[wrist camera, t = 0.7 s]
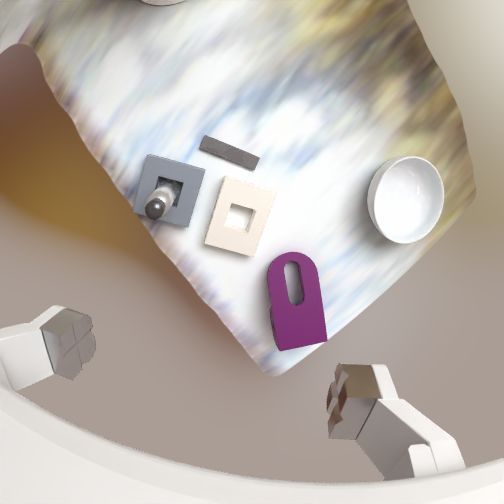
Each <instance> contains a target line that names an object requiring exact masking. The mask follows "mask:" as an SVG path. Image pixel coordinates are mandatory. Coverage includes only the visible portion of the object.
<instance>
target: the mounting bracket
mask: <svg viewBox="0 0 504 504" xmlns="http://www.w3.org/2000/svg"><path fill="white" fill-rule="evenodd" d="M289 261H293V262H295V263H296V264H297V266H298V269H299V275H300V281H301V288H302V294H303V298H302V301H301V302H300V303H299V304H296V305H292V304H291V303H290V302H289V299H288V293H287V287H286V281H285V275H284V266H285V264H286V263H287V262H289ZM267 282H268V288H269V294H270V300H271V307H272V308H270V318H271V325H272V331H273V336H274V340H275V343H276V346H277V347H278V349H279V351H284V350H289V349H294V348H299V347H303V346H308V345H313V344H317V343H321V342H326V341H327V333H326V326H325V318H324V311H323V304H322V297H321V290H320V284H319V278H318V272H317V268H316V266H315V264H314V263H313V261H312V260H311V259H310V258H309V257H307V256H306V255H304V254H302V253H298V252H289V253H285V254H282V255H280V256H279V257H277V258H276V259H275V260H274V261H273V262H272V263H271V265H270V267H269V269H268V273H267Z"/></svg>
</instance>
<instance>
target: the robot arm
mask: <svg viewBox="0 0 504 504" xmlns="http://www.w3.org/2000/svg"><path fill="white" fill-rule="evenodd" d="M141 1H143V2H145V3H148V4H152V5H171V4H175V3H179V2H182V1H185V0H141ZM92 327H93V325H92V320H91V317H89V316H88V315H86V314H83V313H80V312H77V311H74V310H71V309H68V308H65V307H62V306H59V305H53V306H52V307H51V308H49V309H48V310H47V311H45V312H44V313H42V314H41V315H40V316H38V317H37V318H36V319H35V320H33V321H32V322H30V323H29V324H27V323H23V324H19V325H15V326H10V327H6V328H2V329H0V504H504V458H500V459H497V460H494V461H491V462H488V463H484V464H480V465H477V466H473V467H468V468H466V467H465V464H464V461H463V458H462V456H461V453H460V451H459V448H458V446H457V443H456V441H455V439H454V438H453V437H451V436H450V435H449V434H447V433H446V432H445V431H444V430H442V429H441V428H440V427H438V426H437V425H436V424H434V423H433V422H432V421H430V420H429V419H428V418H427V417H425V416H424V415H423V414H421V413H420V412H419V411H418V410H416V409H415V408H414V407H412V406H411V405H410V404H409V403H407V402H406V401H405V400H403V399H399V398H398V395H397V393H396V390H395V387H394V384H393V382H392V379H391V377H390V374H389V371H388V369H387V367H386V366H385V365H373V364H370V365H361V364H348V363H339V364H338V365H337V367H336V370H335V381H334V382H332V383H331V385H330V388H329V391H328V396H327V412H328V413H329V414H330V415H331V416H330V419H329V421H328V431H329V438H332V439H349V440H356V442H357V443H358V445H359V446H360V447H361V448H362V450H363V451H364V452H365V454H366V455H367V456H368V457H369V458H370V460H371V461H372V462H373V463H374V465H375V466H376V467H377V468H378V470H379V471H380V472H381V473H382V474H383V476H384V477H385V479H384V480H383V481H377V482H357V483H317V482H298V481H285V480H274V479H264V478H257V477H250V476H243V475H237V474H231V473H225V472H219V471H215V470H210V469H206V468H201V467H197V466H192V465H188V464H184V463H180V462H177V461H173V460H169V459H166V458H162V457H159V456H156V455H152V454H149V453H146V452H143V451H140V450H137V449H134V448H132V447H129V446H126V445H123V444H120V443H118V442H115V441H113V440H110V439H107V438H105V437H102V436H100V435H98V434H95V433H93V432H91V431H88V430H86V429H84V428H82V427H80V426H77V425H75V424H73V423H71V422H69V421H67V420H65V419H63V418H61V417H59V416H57V415H55V414H53V413H51V412H49V411H47V410H46V409H44V408H42V407H40V406H38V405H37V404H35V403H33V402H31V401H30V400H28V399H26V398H24V397H23V396H21V395H19V394H18V393H16V391H18V390H20V389H22V388H24V387H27V386H29V385H31V384H33V383H35V382H37V381H40V380H42V379H44V378H46V377H48V376H51V375H53V374H54V373H56V374H58V375H61V376H63V377H65V378H68V379H71V380H73V379H74V378H75V377H76V376H77V374H78V373H79V372H80V371H81V370H82V364H84V363H87V362H89V361H90V360H91V358H92V357H93V355H94V352H95V350H96V341H95V337H94V335H93V334H92V332H91V329H92Z"/></svg>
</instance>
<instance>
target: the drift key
mask: <svg viewBox="0 0 504 504" xmlns="http://www.w3.org/2000/svg"><path fill="white" fill-rule="evenodd" d="M200 149H203V150H205V151H208V152H210V153H213V154H215V155H218V156H220V157H223V158H225V159H228V160H230V161H233V162H235V163H237V164H240V165H242V166H245V167H247V168H249V169H252V170H255V167H256V165H257V163H258V161H259V159H260V158H259V157H257V156H255V155H252V154H250V153H248V152H245V151H243V150H241V149H238V148H236V147H234V146H231V145H229V144H226V143H224V142H221V141H219V140H216V139H214V138H211V137H209V136H206V135H205V136H204V139H203V141H202V143H201V146H200Z"/></svg>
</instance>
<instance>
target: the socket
mask: <svg viewBox="0 0 504 504" xmlns="http://www.w3.org/2000/svg"><path fill="white" fill-rule="evenodd" d="M204 173H205V169H202V168H199V167H195V166H192V165H188V164H185V163H181V162H177V161H174V160H170V159H166V158H163V157H159V156H155V155H151V154H149V155H147V158H146V161H145V165H144V169H143V172H142V176H141V180H140V184H139V188H138V192H137V196H136V200H135V205H134V209H133V213H137V214H141V215H144V216H147V215H146V213H145V207H144V206H145V202H146V200H147V198H148V197H149V196H150V195H151V194H152V193H153V192H154V191H155V190H156V189H157V186H158V183H159V179H160V176H161V177H165V178H168V179H172V180H176V181H179V182H183V183H184V184H183V187H182V191H181V194H180V198H179V201H178V204H175V203H173V204H172V206H171V208H170V209H169V211H168V213H167V215H166V216H165V217H163V218H161V219H159V220H163V221H166V222H170V223H173V224H177V225H181V226H184V227H188V226H189V223H190V219H191V216H192V212H193V209H194V206H195V202H196V199H197V196H198V192H199V189H200V186H201V183H202V180H203V176H204Z"/></svg>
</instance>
